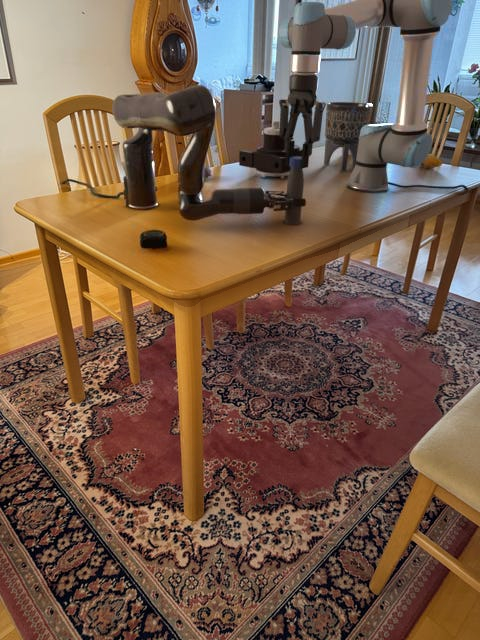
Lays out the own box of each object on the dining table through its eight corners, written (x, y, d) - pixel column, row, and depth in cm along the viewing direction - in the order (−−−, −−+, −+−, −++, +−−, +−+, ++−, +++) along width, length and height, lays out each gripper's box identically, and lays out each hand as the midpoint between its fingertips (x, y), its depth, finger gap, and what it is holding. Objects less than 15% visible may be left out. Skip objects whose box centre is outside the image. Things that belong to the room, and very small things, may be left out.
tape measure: (140, 252, 115) (139, 238, 113) (141, 242, 120) (140, 229, 119) (167, 251, 116) (166, 237, 114) (167, 241, 121) (166, 228, 120)
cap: (291, 167, 128) (291, 159, 127) (287, 164, 132) (287, 156, 131) (306, 167, 129) (307, 159, 128) (302, 164, 133) (303, 156, 131)
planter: (313, 167, 208) (319, 103, 195) (331, 160, 222) (338, 101, 209) (353, 173, 199) (362, 107, 185) (369, 166, 213) (379, 104, 199)
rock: (203, 174, 190) (203, 158, 187) (216, 178, 185) (216, 162, 181) (177, 179, 183) (176, 162, 179) (189, 183, 177) (189, 166, 174)
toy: (416, 161, 206) (411, 154, 219) (419, 175, 209) (413, 167, 222) (442, 153, 203) (435, 147, 216) (444, 167, 206) (437, 160, 219)
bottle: (281, 222, 138) (286, 159, 129) (289, 218, 142) (293, 157, 132) (295, 225, 136) (301, 161, 127) (302, 221, 139) (308, 159, 130)
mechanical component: (240, 120, 182) (283, 115, 202) (239, 174, 192) (280, 164, 212) (283, 126, 170) (325, 120, 190) (280, 183, 180) (320, 171, 200)
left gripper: (251, 194, 125) (310, 193, 128) (243, 182, 138) (297, 181, 140) (250, 221, 129) (308, 219, 131) (242, 206, 141) (295, 205, 144)
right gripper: (340, 75, 117) (330, 168, 128) (284, 72, 126) (279, 160, 138) (326, 75, 111) (316, 173, 123) (268, 73, 121) (264, 163, 132)
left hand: (302, 199), depth 136 cm, fingers closed on bottle, 4 cm apart
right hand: (296, 166), depth 130 cm, fingers closed on cap, 4 cm apart
